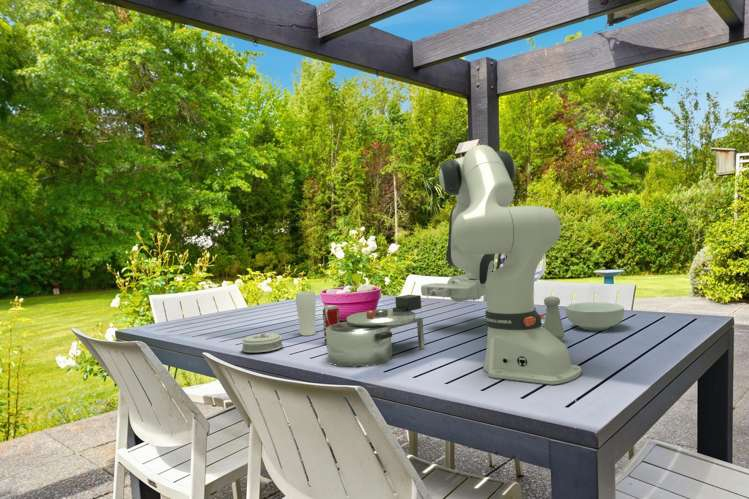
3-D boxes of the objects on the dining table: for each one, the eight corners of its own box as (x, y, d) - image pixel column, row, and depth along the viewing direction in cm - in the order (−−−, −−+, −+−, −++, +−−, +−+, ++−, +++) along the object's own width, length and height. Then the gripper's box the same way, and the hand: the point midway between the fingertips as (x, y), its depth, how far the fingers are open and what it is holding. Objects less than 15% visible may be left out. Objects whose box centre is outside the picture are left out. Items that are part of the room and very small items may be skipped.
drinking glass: (320, 332, 184) (317, 290, 184) (314, 336, 178) (311, 293, 177) (302, 332, 186) (299, 291, 185) (295, 336, 179) (292, 294, 178)
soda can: (338, 345, 162) (336, 307, 162) (322, 345, 163) (320, 307, 163) (343, 341, 167) (340, 304, 167) (327, 341, 168) (325, 305, 168)
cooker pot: (432, 349, 148) (430, 318, 148) (363, 372, 129) (361, 336, 129) (378, 340, 164) (376, 312, 164) (310, 359, 146) (308, 328, 145)
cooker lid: (440, 314, 153) (439, 296, 152) (380, 329, 135) (379, 309, 135) (392, 309, 167) (391, 293, 167) (332, 322, 150) (331, 304, 150)
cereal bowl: (556, 330, 164) (555, 308, 163) (581, 321, 175) (580, 300, 174) (610, 336, 151) (609, 312, 151) (633, 326, 162) (632, 304, 162)
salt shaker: (545, 338, 152) (543, 295, 152) (566, 339, 150) (563, 295, 149) (541, 343, 147) (539, 298, 147) (562, 344, 145) (560, 298, 144)
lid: (280, 353, 156) (279, 337, 156) (238, 357, 156) (237, 340, 155) (285, 344, 169) (284, 329, 169) (246, 347, 168) (245, 332, 168)
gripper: (435, 278, 183) (409, 282, 173) (483, 280, 168) (458, 285, 158) (436, 295, 183) (410, 301, 174) (484, 299, 168) (459, 305, 159)
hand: (433, 293), depth 166 cm, fingers closed
